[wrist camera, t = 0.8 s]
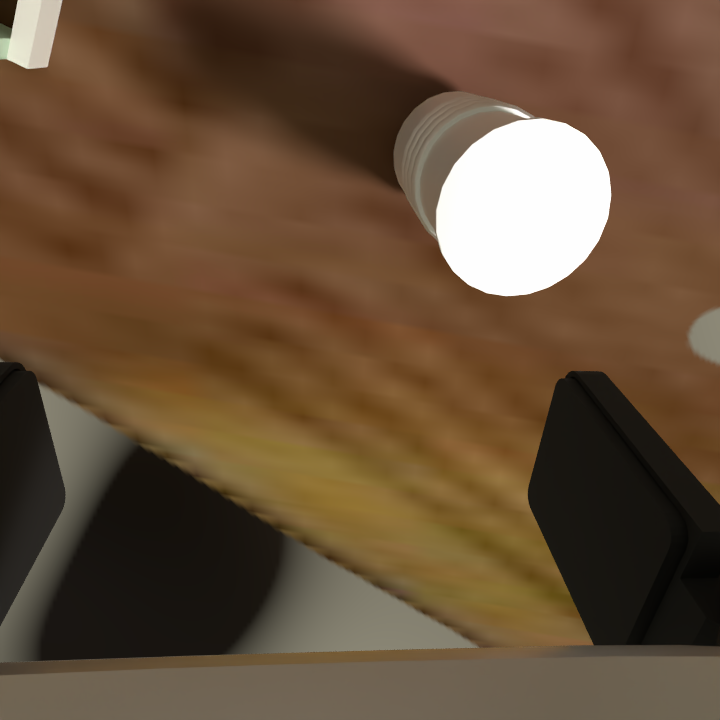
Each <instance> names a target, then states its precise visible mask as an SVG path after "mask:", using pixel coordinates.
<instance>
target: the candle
mask: <svg viewBox="0 0 720 720" xmlns="http://www.w3.org/2000/svg"><path fill="white" fill-rule="evenodd" d="M394 170H395V173H396V176H397V180H398V183H399V185H400V186H401V188H402V189H403V191H404V192H405V195H406V198H407V200H408V201H409V203H410V205H411V206H412V208H413V209H414V211H415V213H416V214H417V216H418V218H419V219H420V221H421V222H422V224H423V226H424V227H425V229H426V230H427V232H428V233H429V234H431V235H432V236H433V237H434V238H435V239H436V240H437V241H438V244H439V248H440V251H441V253H442V254H443V256H444V257H445V259H446V261H447V262H448V264H449V265H450V267H451V269H452V270H453V272H455V273H456V274H457V275H458V276H459V277H460V278H461V279H463V280H464V281H465V282H466V283H467V284H468V285H470V286H473V287H475V288H477V289H479V290H481V291H484V292H486V293H490V294H497V295H503V296H514V295H524V294H530V293H533V292H536V291H539V290H542V289H545V288H548V287H550V286H552V285H553V284H555V283H556V282H558V281H560V280H561V279H563V278H565V277H566V276H568V275H569V274H570V273H571V272H572V271H574V270H575V269H576V268H577V267H578V266H579V265H580V264H581V263H582V262H583V261H584V260H585V259H586V258H587V256H588V255H589V253H590V252H591V250H592V249H593V248H594V246H595V245H596V243H597V242H598V240H599V238H600V236H601V233H602V231H603V228H604V226H605V223H606V221H607V218H608V213H609V206H610V199H611V189H610V180H609V172H608V170H607V167H606V165H605V163H604V160H603V158H602V156H601V153H600V151H599V150H598V149H597V148H596V147H595V146H594V144H593V143H592V142H591V141H590V140H589V139H588V138H587V136H586V135H584V134H583V133H581V132H579V131H578V130H576V129H574V128H572V127H571V126H569V125H567V124H565V123H562V122H558V121H553V120H549V119H544V118H539V117H537V118H535V117H534V116H533V115H531V114H529V113H528V112H526V111H524V110H522V109H521V108H519V107H517V106H514V105H510V104H508V103H504V102H501V101H498V100H495V99H492V98H487V97H482V96H478V95H475V94H471V93H466V92H462V91H455V92H444V93H441V94H438V95H436V96H433V97H431V98H428V99H427V100H426V101H424V102H423V103H421V104H420V105H419V106H417V107H416V108H415V109H414V110H413V111H412V112H411V114H410V115H409V116H408V117H407V118H406V120H405V121H404V123H403V125H402V127H401V129H400V131H399V133H398V135H397V138H396V143H395V148H394Z"/></svg>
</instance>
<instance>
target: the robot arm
mask: <svg viewBox="0 0 720 720" xmlns="http://www.w3.org/2000/svg"><path fill="white" fill-rule="evenodd" d="M528 501H529V505H530V508H531V510H532V512H533V514H534V517H535V519H536V521H537V523H538V525H539V527H540V530H541V532H542V534H543V536H544V538H545V540H546V543H547V545H548V547H549V549H550V551H551V553H552V556H553V558H554V560H555V562H556V564H557V566H558V569H559V571H560V573H561V575H562V577H563V579H564V582H565V584H566V586H567V588H568V590H569V592H570V594H571V597H572V599H573V601H574V603H575V605H576V607H577V610H578V612H579V614H580V616H581V618H582V620H583V623H584V625H585V627H586V629H587V631H588V633H589V636H590V638H591V640H592V642H593V644H594V645H591V646H538V647H496V648H454V649H412V650H377V651H344V652H310V653H309V652H307V653H275V654H240V655H209V656H178V657H150V658H119V659H91V660H63V661H34V662H7V663H6V662H5V663H0V720H720V505H719V504H718V503H717V501H716V500H715V499H714V498H713V497H712V496H711V494H710V493H709V492H708V491H707V490H706V489H705V488H704V486H703V485H702V484H701V483H700V482H699V481H698V480H697V478H696V477H695V476H694V475H693V474H692V473H691V472H690V470H689V469H688V468H687V467H686V466H685V465H684V464H683V462H682V461H681V460H680V459H679V458H678V457H677V456H676V454H675V453H674V452H673V451H672V450H671V449H670V447H669V446H668V445H667V444H666V443H665V442H664V441H663V439H662V438H661V437H660V436H659V435H658V434H657V433H656V431H655V430H654V429H653V428H652V427H651V426H650V425H649V423H648V422H647V421H646V420H645V419H644V418H643V417H642V415H641V414H640V413H639V412H638V411H637V410H636V409H635V407H634V406H633V405H632V404H631V403H630V402H629V401H628V399H627V398H626V397H625V396H624V395H623V394H622V392H621V391H620V390H619V389H618V388H617V387H616V386H615V384H614V383H613V382H612V381H611V380H610V379H609V378H608V376H607V375H606V374H604V373H603V372H599V371H571V372H569V373H568V374H567V375H566V377H565V379H562V378H561V379H559V380H558V382H557V383H556V386H555V390H554V393H553V397H552V401H551V405H550V408H549V412H548V416H547V420H546V423H545V427H544V431H543V435H542V438H541V442H540V446H539V450H538V453H537V457H536V461H535V465H534V468H533V472H532V476H531V480H530V483H529V488H528ZM64 503H65V487H64V483H63V480H62V476H61V472H60V468H59V464H58V460H57V456H56V452H55V448H54V445H53V441H52V437H51V433H50V429H49V425H48V421H47V417H46V413H45V409H44V405H43V401H42V397H41V394H40V390H39V386H38V382H37V379H36V376H35V374H34V373H33V372H32V371H26V370H25V368H24V367H23V365H22V364H20V363H18V362H0V626H1V623H2V622H3V620H4V618H5V616H6V614H7V612H8V610H9V609H10V607H11V605H12V603H13V601H14V599H15V598H16V596H17V594H18V592H19V590H20V588H21V586H22V584H23V583H24V581H25V579H26V577H27V575H28V573H29V571H30V570H31V568H32V566H33V564H34V562H35V560H36V558H37V556H38V555H39V553H40V551H41V549H42V547H43V545H44V543H45V541H46V540H47V538H48V536H49V534H50V532H51V530H52V528H53V527H54V525H55V523H56V521H57V519H58V517H59V515H60V514H61V511H62V509H63V507H64Z"/></svg>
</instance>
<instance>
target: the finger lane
mask: <svg viewBox="0 0 720 720" xmlns="http://www.w3.org/2000/svg"><path fill="white" fill-rule="evenodd" d="M61 4H62V0H18V2H17V8H16V13H15V18H14V23H13V28H12V29H11V28H9V27H7V26H5V25H3V24H1V23H0V59H8V60H10V61H12V62H14V63H16V64H18V65H20V66H23V67H25V68H27V69H32V68H42V67H48V63H49V58H50V54H51V49H52V45H53V40H54V36H55V31H56V27H57V22H58V18H59V13H60V9H61Z"/></svg>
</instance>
